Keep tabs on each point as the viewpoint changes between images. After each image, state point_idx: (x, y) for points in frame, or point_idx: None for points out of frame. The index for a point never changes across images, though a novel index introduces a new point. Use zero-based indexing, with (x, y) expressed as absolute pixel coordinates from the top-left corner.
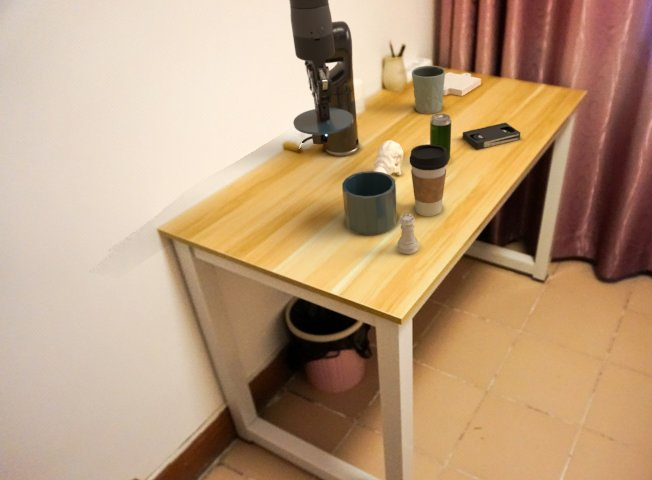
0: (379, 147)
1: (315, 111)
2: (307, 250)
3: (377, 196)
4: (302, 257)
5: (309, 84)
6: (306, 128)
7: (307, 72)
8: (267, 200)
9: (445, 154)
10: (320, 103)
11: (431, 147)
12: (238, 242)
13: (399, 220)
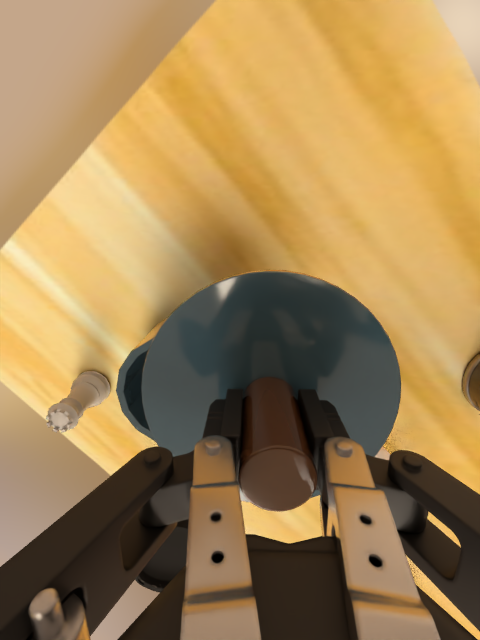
0: (375, 456)
1: (314, 393)
2: (135, 221)
3: (118, 395)
4: (115, 207)
5: (341, 495)
6: (205, 317)
7: (351, 620)
8: (355, 168)
9: (141, 582)
10: (136, 461)
11: None
12: (206, 75)
13: (67, 404)
